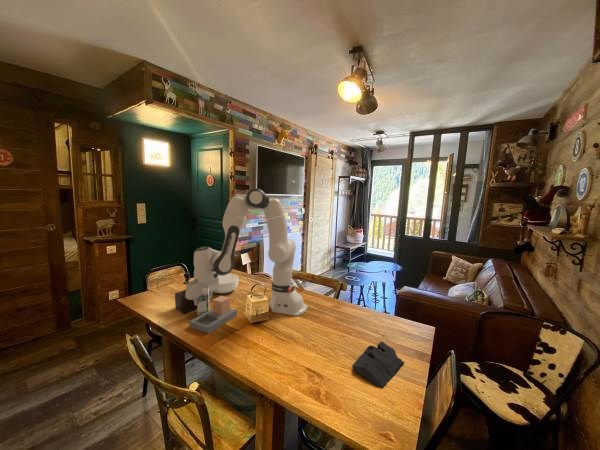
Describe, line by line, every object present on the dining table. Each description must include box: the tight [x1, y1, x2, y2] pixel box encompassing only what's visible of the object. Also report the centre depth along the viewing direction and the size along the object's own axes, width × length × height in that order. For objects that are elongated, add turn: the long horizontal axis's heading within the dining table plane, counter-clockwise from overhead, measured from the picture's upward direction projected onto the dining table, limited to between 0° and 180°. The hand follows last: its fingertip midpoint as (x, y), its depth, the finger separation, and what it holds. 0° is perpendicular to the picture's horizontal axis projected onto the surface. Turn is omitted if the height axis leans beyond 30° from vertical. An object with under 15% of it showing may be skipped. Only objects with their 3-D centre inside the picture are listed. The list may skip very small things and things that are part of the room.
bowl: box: [213, 273, 239, 294], centre depth 163 cm, size 20×20×8 cm
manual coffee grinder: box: [174, 272, 197, 315], centre depth 138 cm, size 16×11×18 cm
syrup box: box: [196, 286, 210, 316], centre depth 133 cm, size 6×6×14 cm
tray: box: [189, 295, 238, 334], centre depth 124 cm, size 20×12×10 cm, turn 154°
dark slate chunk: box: [351, 340, 405, 389], centre depth 96 cm, size 15×22×5 cm
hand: (203, 301), depth 133 cm, fingers closed on syrup box, 8 cm apart
